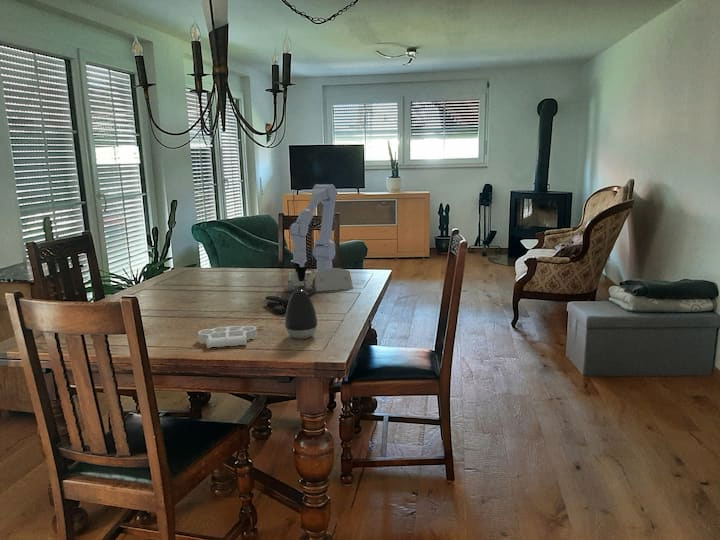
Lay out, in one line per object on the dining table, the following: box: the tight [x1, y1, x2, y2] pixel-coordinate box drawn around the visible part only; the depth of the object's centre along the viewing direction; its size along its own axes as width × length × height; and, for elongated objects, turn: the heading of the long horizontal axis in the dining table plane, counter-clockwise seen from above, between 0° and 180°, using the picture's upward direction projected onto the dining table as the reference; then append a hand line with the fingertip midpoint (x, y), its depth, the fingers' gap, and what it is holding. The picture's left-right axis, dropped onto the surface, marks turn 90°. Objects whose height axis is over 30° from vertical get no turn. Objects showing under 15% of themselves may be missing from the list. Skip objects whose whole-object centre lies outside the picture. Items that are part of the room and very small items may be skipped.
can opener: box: [265, 295, 290, 314], centre depth 206 cm, size 18×7×6 cm, turn 33°
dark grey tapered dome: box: [284, 290, 318, 340], centre depth 172 cm, size 10×10×15 cm
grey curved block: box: [313, 267, 354, 292], centre depth 238 cm, size 17×5×10 cm, turn 100°
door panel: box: [288, 270, 314, 286], centre depth 245 cm, size 3×10×6 cm, turn 103°
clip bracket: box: [285, 279, 314, 294], centre depth 236 cm, size 7×11×4 cm, turn 103°
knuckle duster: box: [197, 325, 258, 349], centre depth 171 cm, size 3×18×15 cm
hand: (300, 280), depth 245 cm, fingers open, 4 cm apart
